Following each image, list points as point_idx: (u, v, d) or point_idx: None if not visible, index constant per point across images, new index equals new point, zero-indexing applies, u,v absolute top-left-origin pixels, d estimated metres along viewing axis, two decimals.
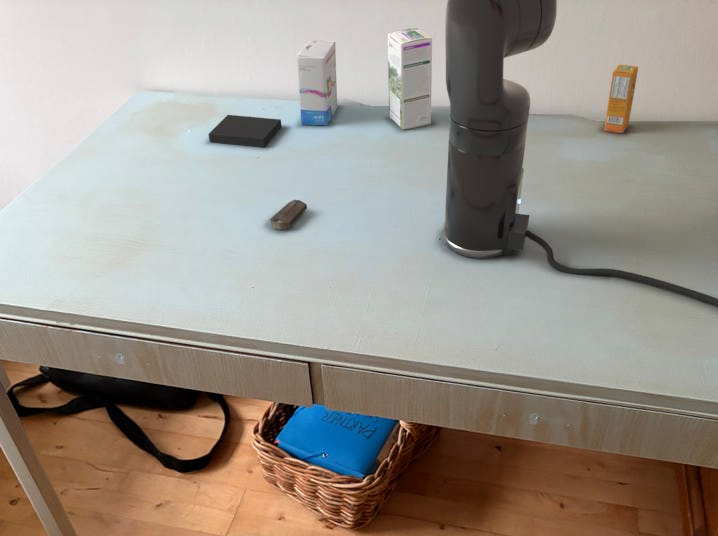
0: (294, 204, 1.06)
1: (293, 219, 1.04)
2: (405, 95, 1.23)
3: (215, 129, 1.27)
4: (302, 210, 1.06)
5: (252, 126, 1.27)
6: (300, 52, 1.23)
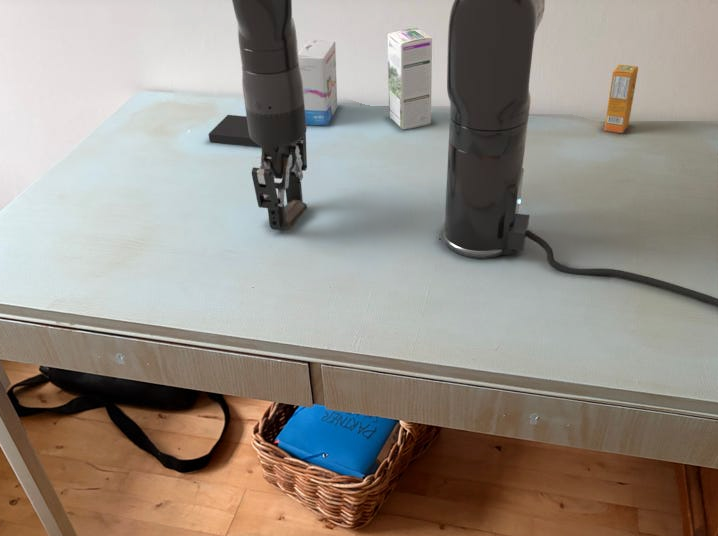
0: (294, 204, 1.06)
1: (293, 219, 1.04)
2: (405, 95, 1.23)
3: (215, 129, 1.27)
4: (302, 210, 1.06)
5: None
6: (300, 52, 1.23)
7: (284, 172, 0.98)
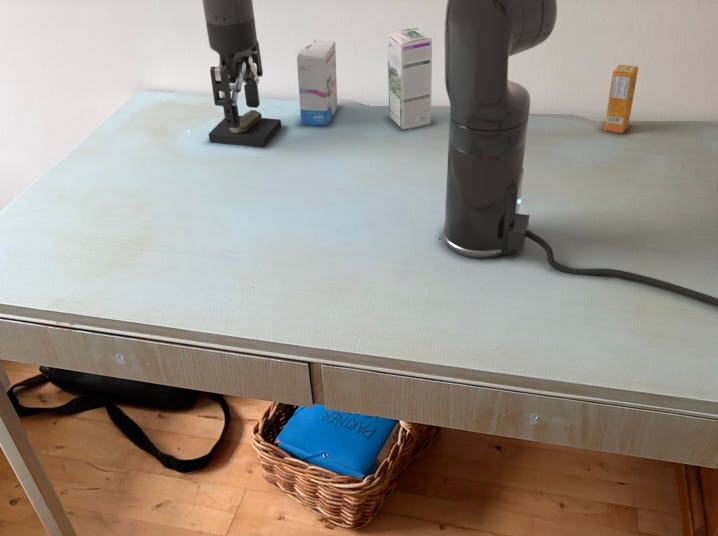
0: (250, 113, 1.27)
1: (249, 124, 1.25)
2: (405, 95, 1.23)
3: (215, 129, 1.27)
4: (257, 118, 1.27)
5: (252, 126, 1.27)
6: (300, 52, 1.23)
7: (238, 76, 1.18)
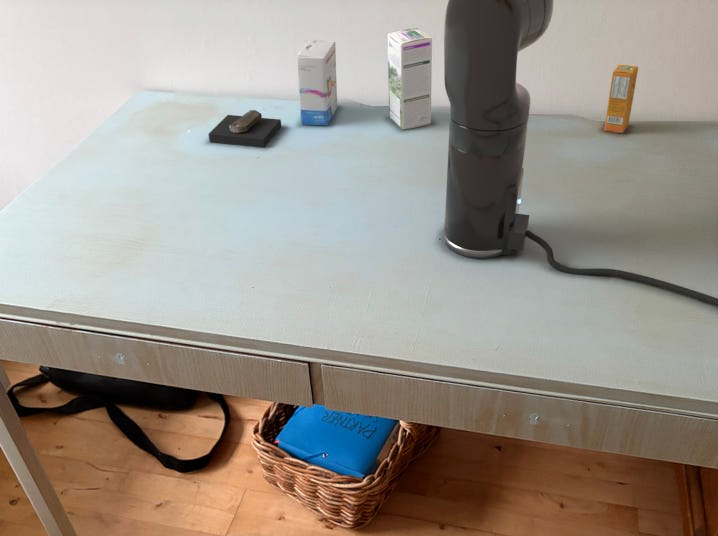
0: (251, 113, 1.27)
1: (249, 124, 1.25)
2: (405, 95, 1.23)
3: (215, 129, 1.27)
4: (257, 118, 1.27)
5: (252, 126, 1.27)
6: (300, 52, 1.23)
7: None
